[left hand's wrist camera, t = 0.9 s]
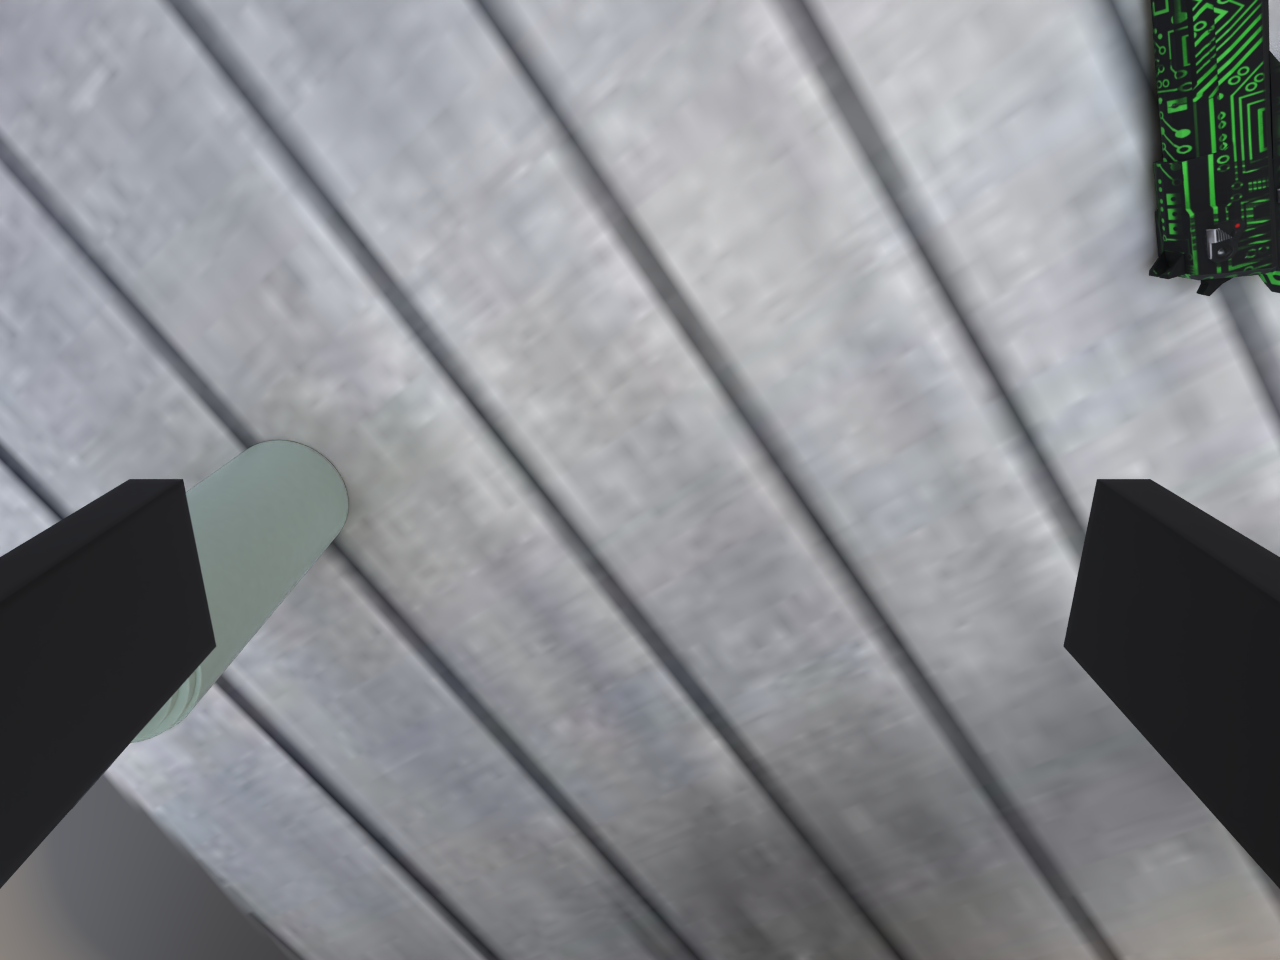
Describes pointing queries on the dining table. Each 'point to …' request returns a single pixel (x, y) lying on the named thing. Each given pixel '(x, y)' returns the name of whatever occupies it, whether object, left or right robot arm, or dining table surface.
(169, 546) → the left robot arm
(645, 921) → the dining table surface
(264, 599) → the bottle
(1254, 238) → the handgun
